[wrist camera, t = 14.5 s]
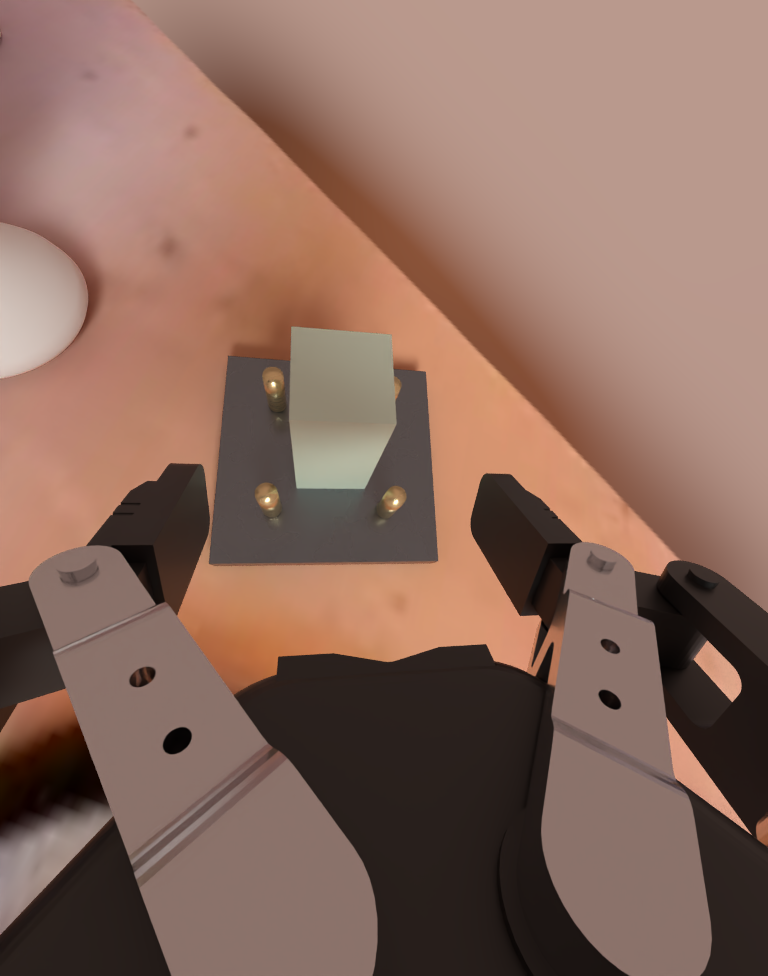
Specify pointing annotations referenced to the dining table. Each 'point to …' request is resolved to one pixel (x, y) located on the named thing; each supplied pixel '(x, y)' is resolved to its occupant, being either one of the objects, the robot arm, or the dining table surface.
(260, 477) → the grey gold peg board
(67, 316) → the flower in vase
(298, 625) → the dining table surface
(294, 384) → the block
